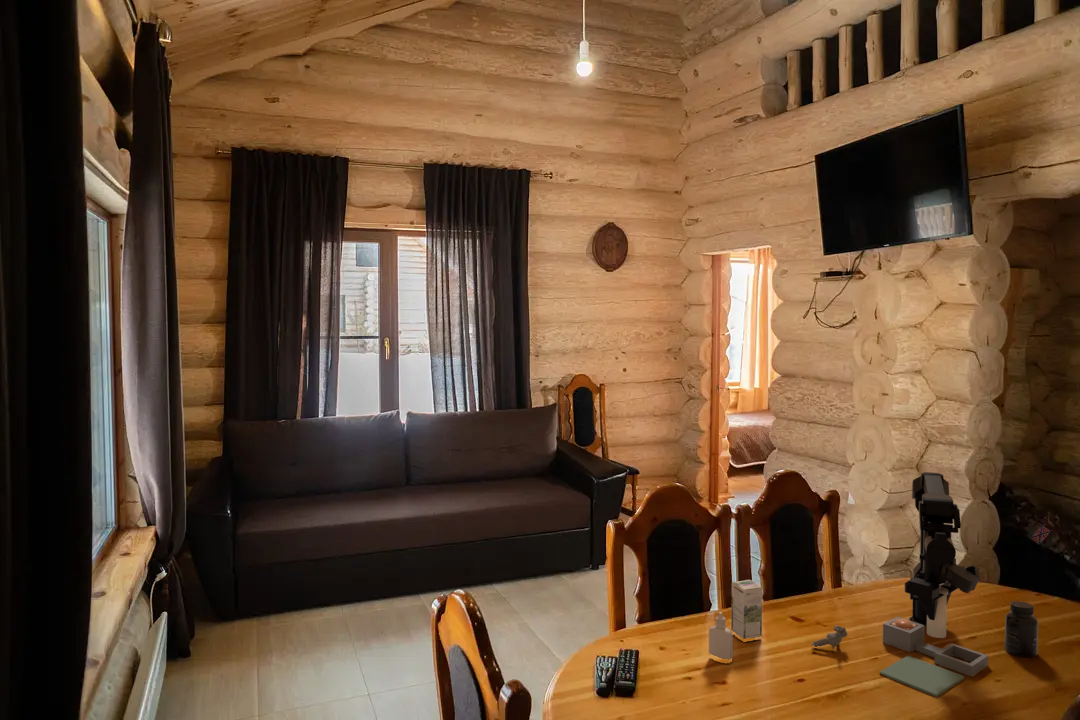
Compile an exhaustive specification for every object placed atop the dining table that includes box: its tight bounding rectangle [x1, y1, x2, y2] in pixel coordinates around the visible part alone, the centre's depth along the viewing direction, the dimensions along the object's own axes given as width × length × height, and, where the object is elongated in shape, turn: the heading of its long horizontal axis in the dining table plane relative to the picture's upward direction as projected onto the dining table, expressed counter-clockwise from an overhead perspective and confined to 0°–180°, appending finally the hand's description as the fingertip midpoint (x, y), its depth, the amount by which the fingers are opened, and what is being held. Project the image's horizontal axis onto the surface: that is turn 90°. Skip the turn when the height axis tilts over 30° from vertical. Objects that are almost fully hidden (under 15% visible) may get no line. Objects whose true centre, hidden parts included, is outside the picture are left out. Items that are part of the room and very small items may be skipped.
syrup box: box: [730, 579, 763, 639], centre depth 191 cm, size 6×6×14 cm
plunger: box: [891, 618, 917, 631], centre depth 186 cm, size 4×4×6 cm
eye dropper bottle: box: [708, 611, 734, 660], centre depth 179 cm, size 4×6×12 cm
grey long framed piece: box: [882, 616, 989, 677], centre depth 180 cm, size 22×8×5 cm, turn 36°
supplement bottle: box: [1004, 600, 1039, 658], centre depth 180 cm, size 7×7×12 cm
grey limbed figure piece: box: [811, 625, 848, 651], centre depth 184 cm, size 10×6×9 cm
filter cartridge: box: [926, 586, 948, 639], centre depth 170 cm, size 5×5×11 cm
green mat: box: [879, 655, 965, 698], centre depth 170 cm, size 13×13×1 cm
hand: (936, 617), depth 170 cm, fingers closed on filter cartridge, 4 cm apart
